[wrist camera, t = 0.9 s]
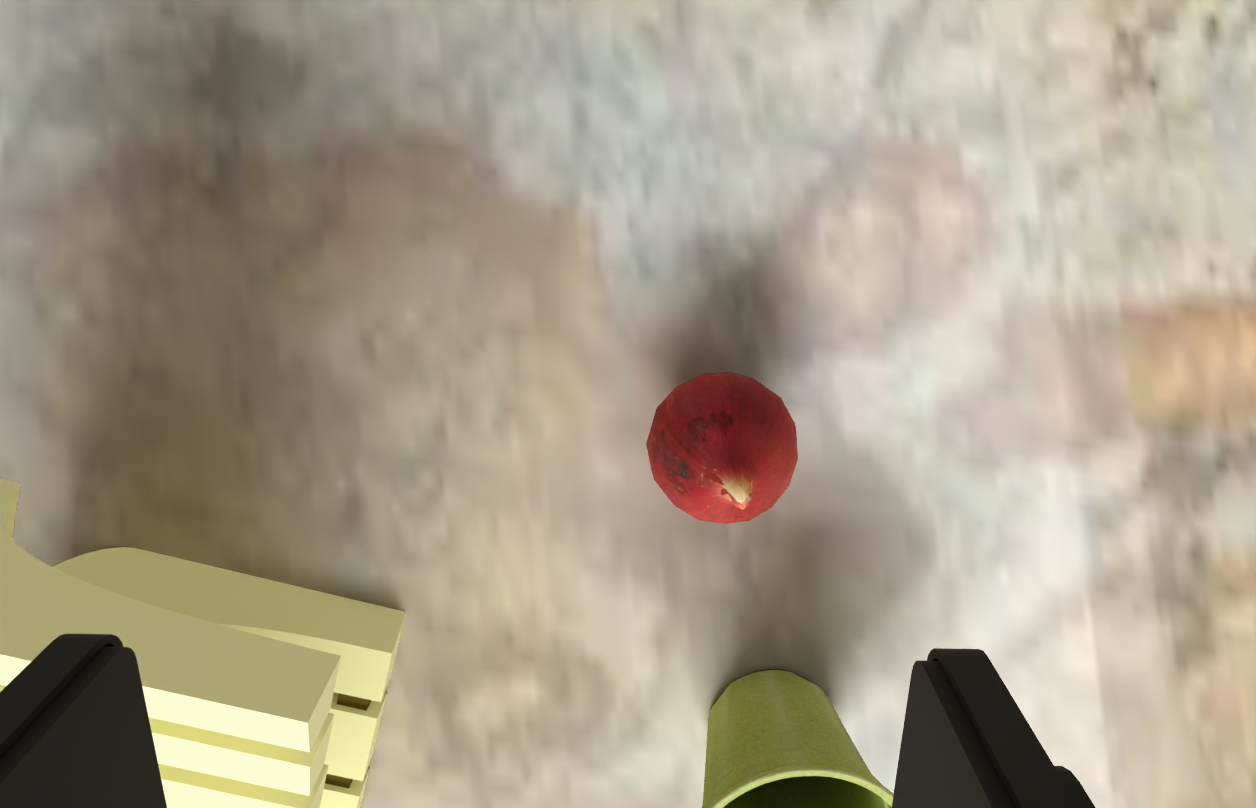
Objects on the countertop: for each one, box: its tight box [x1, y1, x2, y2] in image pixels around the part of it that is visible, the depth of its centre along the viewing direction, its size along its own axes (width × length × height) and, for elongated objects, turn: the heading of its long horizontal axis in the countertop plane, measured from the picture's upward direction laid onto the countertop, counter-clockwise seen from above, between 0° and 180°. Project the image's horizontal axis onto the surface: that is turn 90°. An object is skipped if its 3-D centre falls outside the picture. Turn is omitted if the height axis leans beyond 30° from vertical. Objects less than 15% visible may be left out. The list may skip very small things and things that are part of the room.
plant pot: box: [702, 670, 894, 808], centre depth 40 cm, size 9×9×9 cm
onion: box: [646, 372, 798, 524], centre depth 35 cm, size 6×6×8 cm
